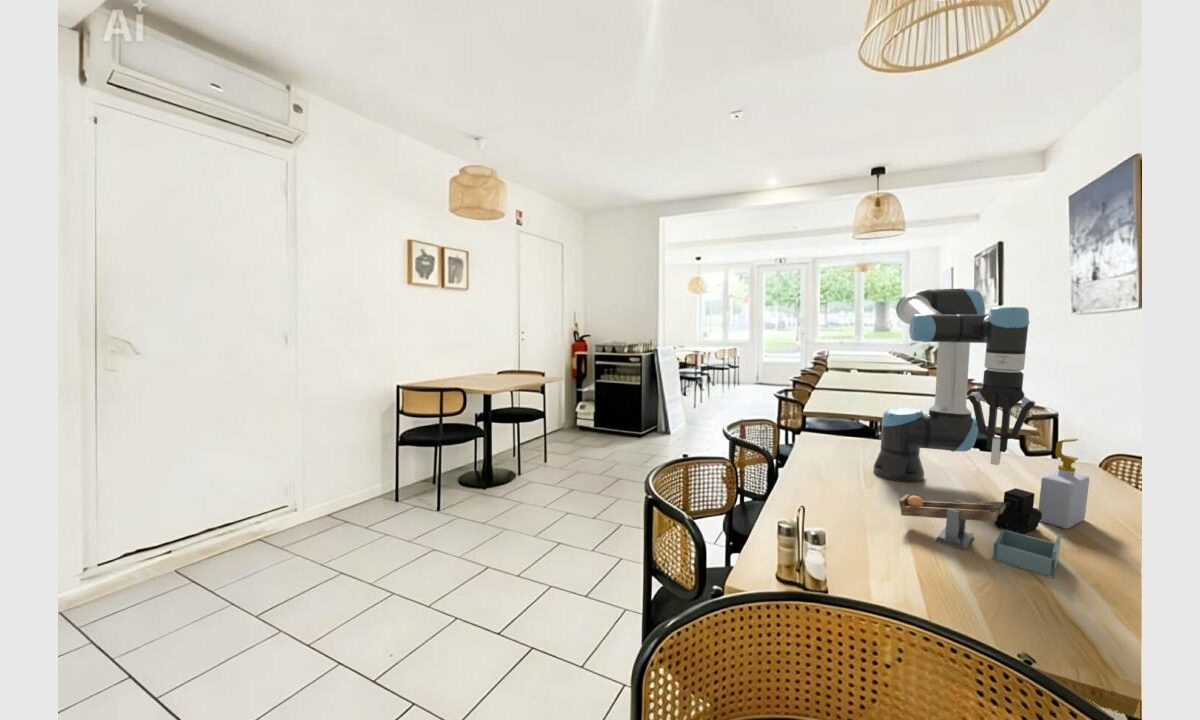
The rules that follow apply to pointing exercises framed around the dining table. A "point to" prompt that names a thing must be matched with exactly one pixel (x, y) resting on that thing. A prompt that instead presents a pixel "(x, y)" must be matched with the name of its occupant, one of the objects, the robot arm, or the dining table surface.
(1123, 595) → the dining table surface
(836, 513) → the dining table surface
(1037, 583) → the dining table surface
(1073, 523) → the soap bottle
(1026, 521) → the toy
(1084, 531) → the dining table surface
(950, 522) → the stand
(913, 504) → the ball
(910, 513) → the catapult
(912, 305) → the robot arm
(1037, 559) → the tray
